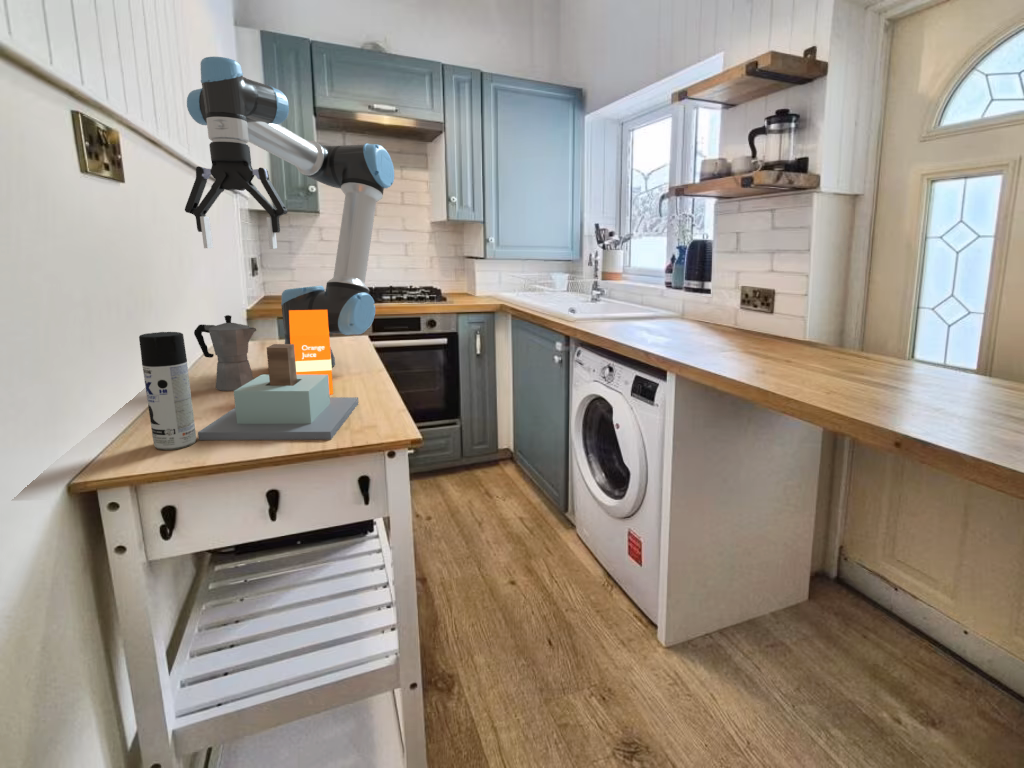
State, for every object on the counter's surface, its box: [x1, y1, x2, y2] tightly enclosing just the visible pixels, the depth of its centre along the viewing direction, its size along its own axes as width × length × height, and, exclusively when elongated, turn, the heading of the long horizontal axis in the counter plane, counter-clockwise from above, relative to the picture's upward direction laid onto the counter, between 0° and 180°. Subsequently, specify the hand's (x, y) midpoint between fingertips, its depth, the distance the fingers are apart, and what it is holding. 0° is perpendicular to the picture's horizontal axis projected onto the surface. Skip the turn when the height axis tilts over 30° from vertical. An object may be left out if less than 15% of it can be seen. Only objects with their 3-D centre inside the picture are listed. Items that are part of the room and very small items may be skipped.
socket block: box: [197, 373, 360, 441], centre depth 114 cm, size 24×24×8 cm
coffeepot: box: [193, 314, 257, 392], centre depth 139 cm, size 15×9×18 cm, turn 88°
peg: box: [266, 343, 297, 386], centre depth 113 cm, size 4×4×14 cm
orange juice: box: [289, 310, 334, 395], centre depth 135 cm, size 8×9×20 cm
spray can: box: [138, 331, 197, 451], centre depth 99 cm, size 7×7×20 cm
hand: (241, 248), depth 121 cm, fingers open, 13 cm apart
